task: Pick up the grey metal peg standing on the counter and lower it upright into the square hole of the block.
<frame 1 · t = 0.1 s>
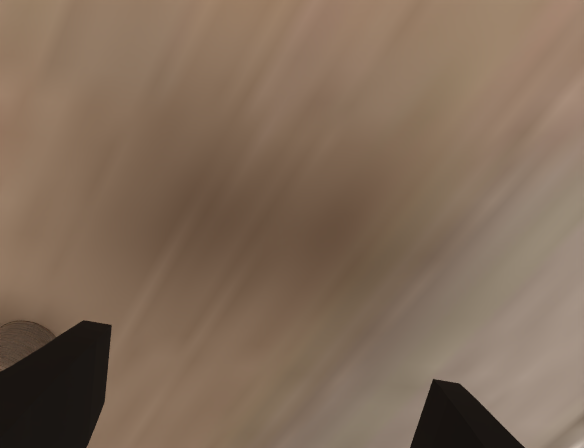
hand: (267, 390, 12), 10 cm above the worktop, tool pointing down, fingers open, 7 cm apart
peg: (27, 351, 24), on the worktop
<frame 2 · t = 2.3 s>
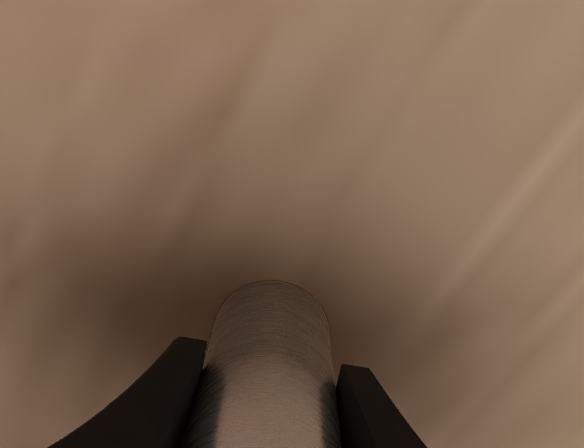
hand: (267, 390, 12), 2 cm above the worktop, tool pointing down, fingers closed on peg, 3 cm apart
peg: (271, 332, 15), on the worktop, touching gripper
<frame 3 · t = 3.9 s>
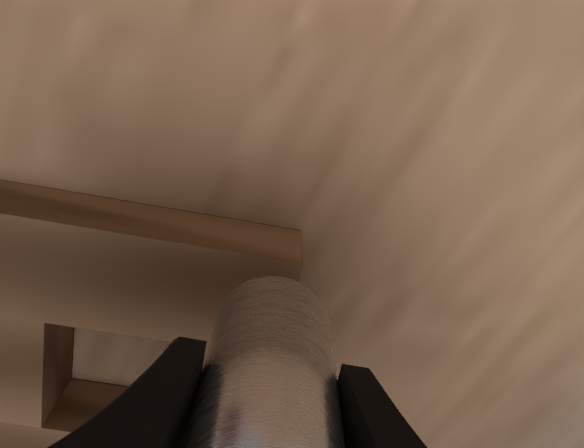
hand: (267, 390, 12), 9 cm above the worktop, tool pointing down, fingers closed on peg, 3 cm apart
peg: (272, 328, 15), point 7 cm above the worktop, touching gripper
hole block: (129, 341, 23), on the worktop
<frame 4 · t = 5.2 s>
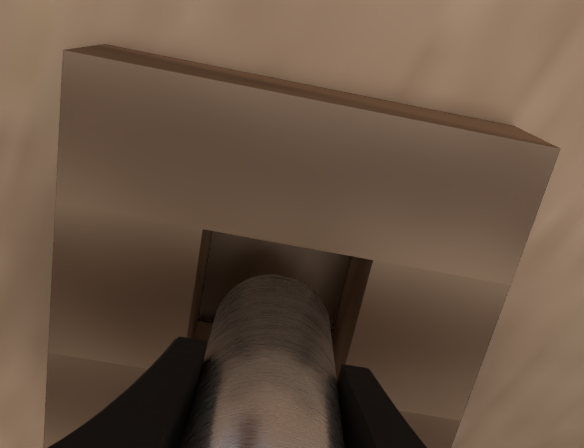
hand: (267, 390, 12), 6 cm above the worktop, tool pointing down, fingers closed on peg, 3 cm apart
peg: (272, 326, 15), point 4 cm above the worktop, touching gripper
hole block: (276, 272, 18), on the worktop
when the fingers open (4 cm above the worktop, at t = 6.0 s): peg drops 1 cm, resting in hole block.
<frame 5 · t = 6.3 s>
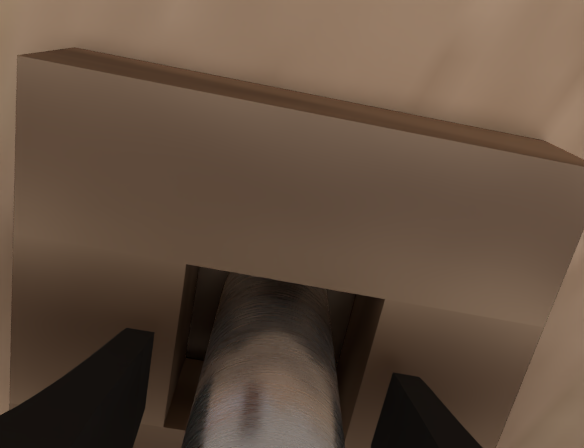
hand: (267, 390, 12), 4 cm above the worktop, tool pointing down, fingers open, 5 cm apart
peg: (274, 299, 16), resting in hole block
hole block: (273, 304, 16), on the worktop
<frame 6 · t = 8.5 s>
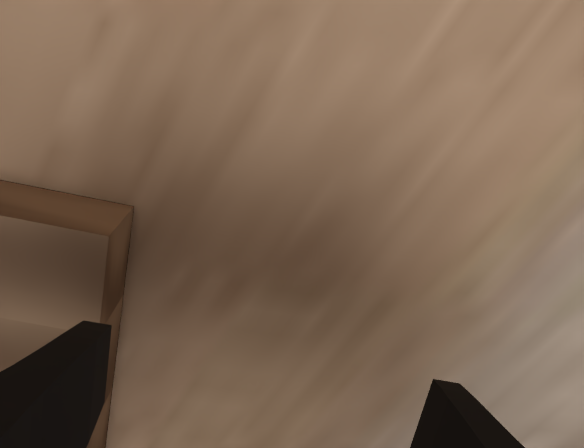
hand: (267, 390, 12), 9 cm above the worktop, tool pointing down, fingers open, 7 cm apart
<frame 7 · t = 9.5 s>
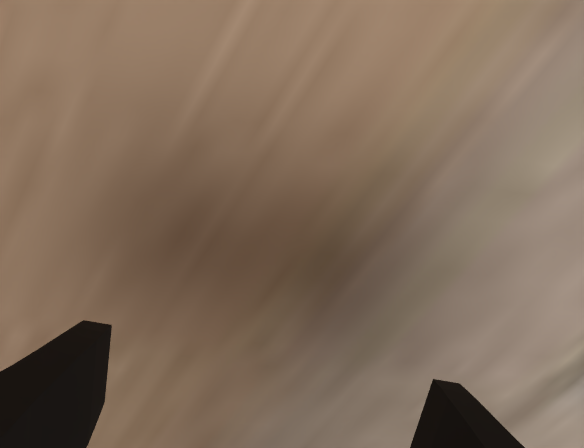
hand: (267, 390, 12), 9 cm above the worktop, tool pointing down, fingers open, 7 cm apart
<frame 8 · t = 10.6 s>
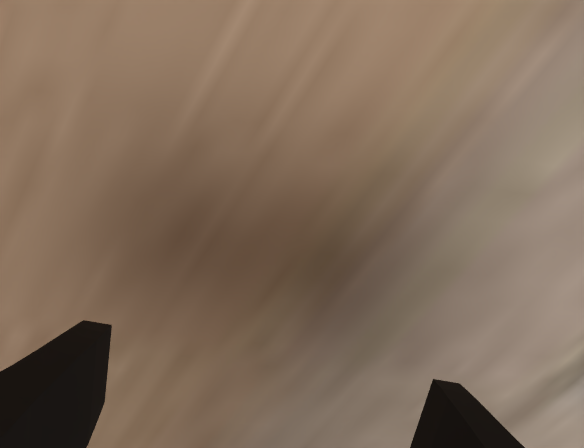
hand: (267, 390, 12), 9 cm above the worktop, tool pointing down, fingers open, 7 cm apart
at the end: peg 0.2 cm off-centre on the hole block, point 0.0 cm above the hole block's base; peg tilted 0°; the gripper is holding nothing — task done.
